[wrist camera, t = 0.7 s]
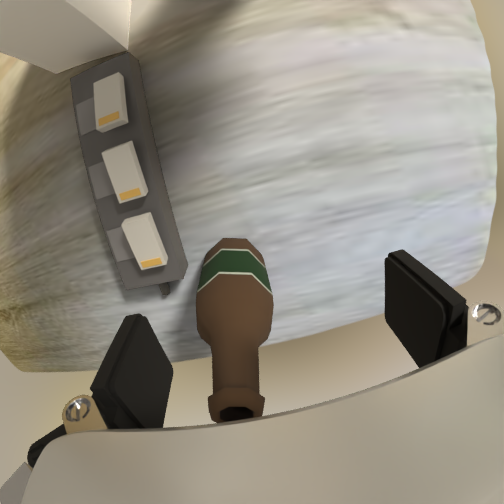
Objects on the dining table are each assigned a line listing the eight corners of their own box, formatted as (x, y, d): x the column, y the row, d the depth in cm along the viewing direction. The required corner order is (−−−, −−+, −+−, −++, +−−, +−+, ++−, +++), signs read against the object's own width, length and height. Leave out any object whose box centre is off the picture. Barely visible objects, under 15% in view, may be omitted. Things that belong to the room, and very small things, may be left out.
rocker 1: (98, 87, 24) (92, 82, 23) (123, 76, 24) (118, 71, 23) (102, 132, 25) (95, 129, 24) (128, 122, 25) (122, 119, 24)
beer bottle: (217, 296, 39) (206, 452, 17) (195, 246, 36) (148, 391, 14) (271, 278, 39) (310, 430, 16) (252, 225, 36) (281, 359, 14)
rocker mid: (106, 149, 26) (101, 153, 25) (132, 140, 26) (127, 143, 25) (123, 198, 29) (119, 204, 28) (148, 191, 29) (145, 196, 28)
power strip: (84, 83, 27) (69, 78, 23) (138, 60, 27) (127, 51, 23) (142, 294, 38) (134, 310, 35) (194, 284, 38) (190, 300, 34)
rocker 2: (124, 219, 29) (120, 225, 28) (150, 211, 29) (147, 218, 28) (143, 263, 32) (141, 270, 31) (168, 257, 32) (166, 265, 31)
